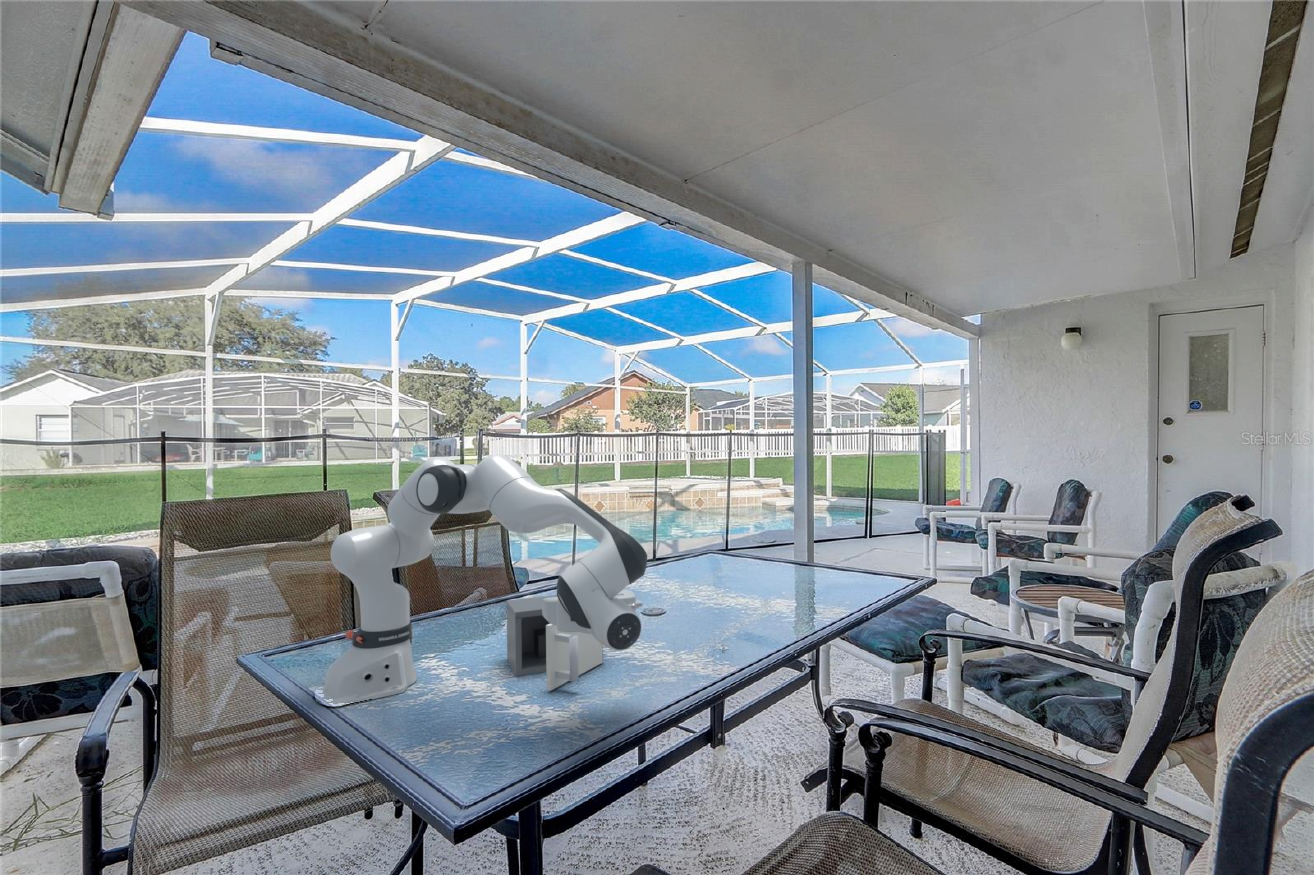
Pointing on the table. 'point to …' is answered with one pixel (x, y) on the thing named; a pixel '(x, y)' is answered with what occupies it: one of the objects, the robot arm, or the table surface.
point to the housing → (526, 635)
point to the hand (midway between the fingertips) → (580, 596)
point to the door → (569, 655)
